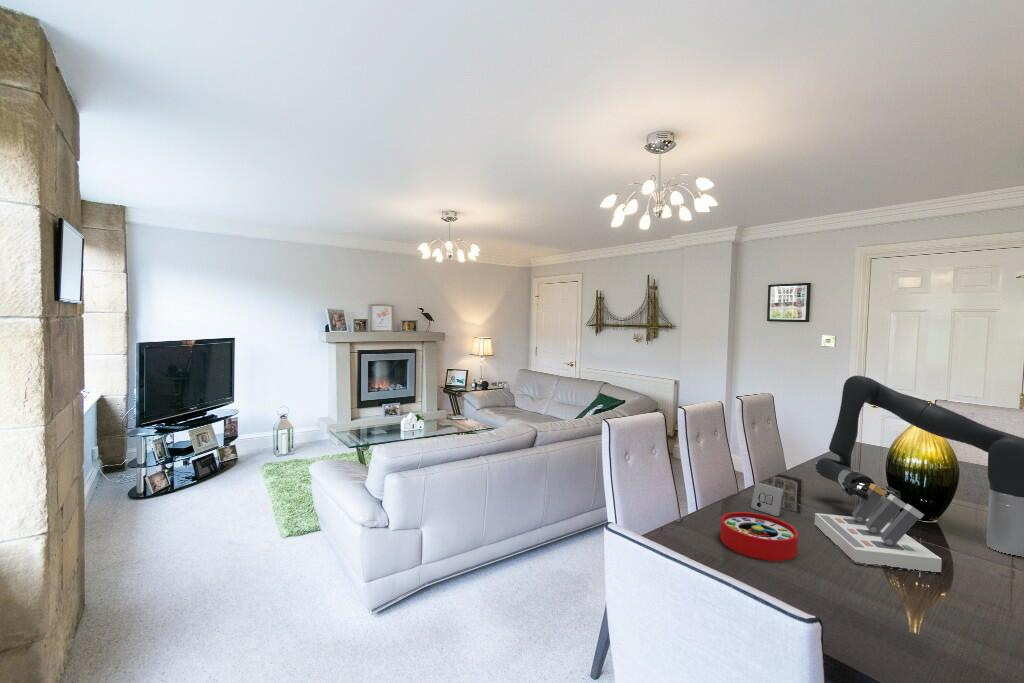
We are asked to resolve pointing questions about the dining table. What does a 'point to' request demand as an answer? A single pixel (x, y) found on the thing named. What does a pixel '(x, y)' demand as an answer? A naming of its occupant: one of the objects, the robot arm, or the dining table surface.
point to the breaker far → (901, 525)
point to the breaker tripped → (868, 503)
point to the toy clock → (759, 536)
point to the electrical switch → (767, 499)
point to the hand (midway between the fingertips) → (882, 498)
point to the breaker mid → (884, 514)
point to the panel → (875, 544)
